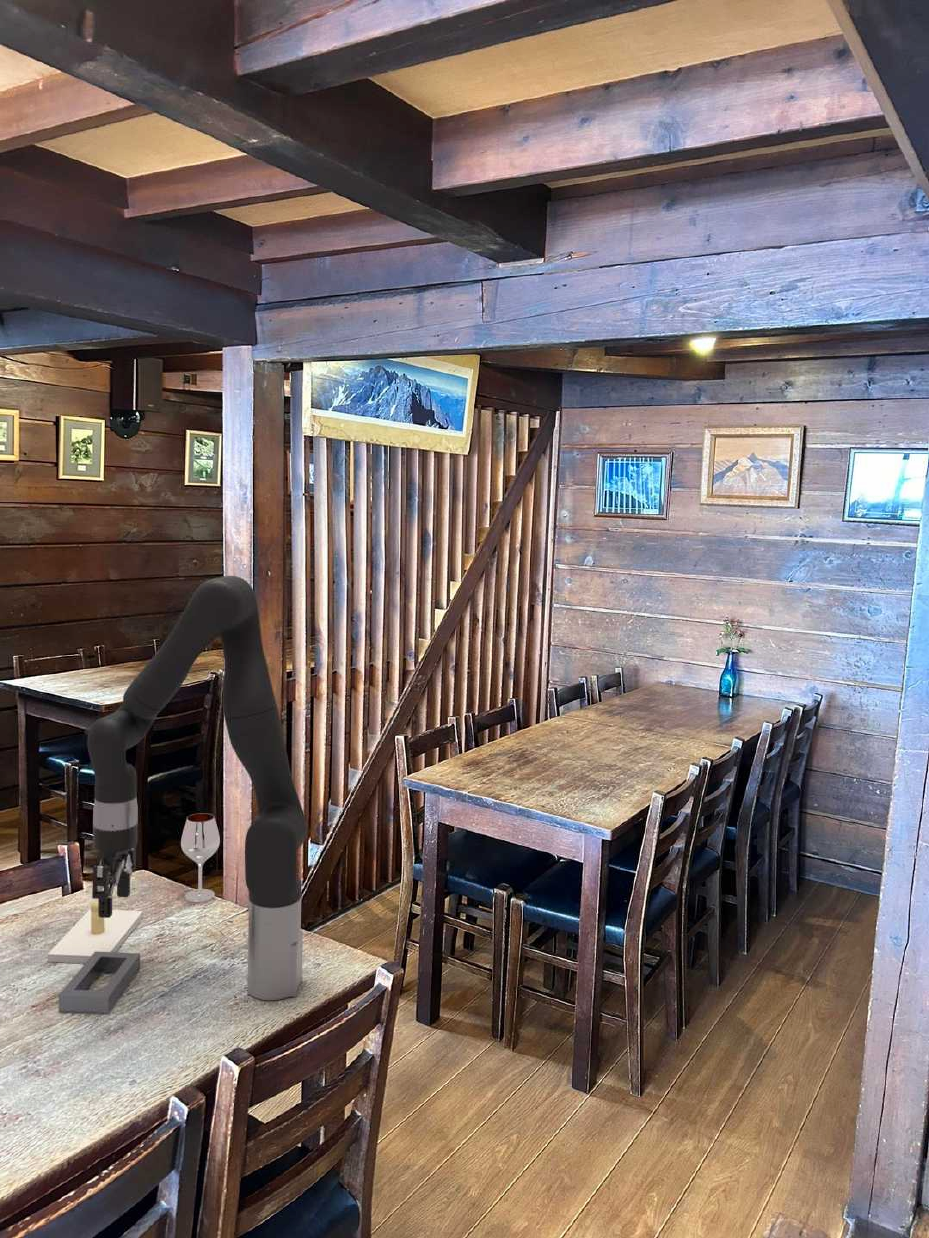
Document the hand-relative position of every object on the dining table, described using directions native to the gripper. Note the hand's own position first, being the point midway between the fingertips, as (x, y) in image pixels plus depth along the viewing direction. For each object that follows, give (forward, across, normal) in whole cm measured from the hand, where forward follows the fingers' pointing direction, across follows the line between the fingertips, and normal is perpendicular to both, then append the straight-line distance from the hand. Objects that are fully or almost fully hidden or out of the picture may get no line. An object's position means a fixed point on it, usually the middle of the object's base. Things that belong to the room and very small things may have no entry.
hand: (114, 906), depth 164 cm
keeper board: (+12, +11, +8) cm, 19 cm away
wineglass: (+13, +32, -6) cm, 35 cm away
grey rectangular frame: (+12, -7, 0) cm, 14 cm away
